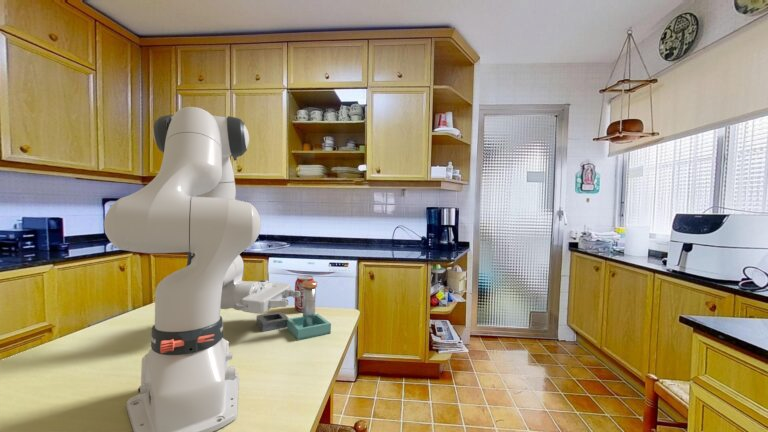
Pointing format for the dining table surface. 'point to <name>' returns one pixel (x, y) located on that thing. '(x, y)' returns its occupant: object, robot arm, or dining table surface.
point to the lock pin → (309, 303)
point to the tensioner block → (272, 321)
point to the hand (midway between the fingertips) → (293, 298)
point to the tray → (308, 332)
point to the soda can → (301, 291)
